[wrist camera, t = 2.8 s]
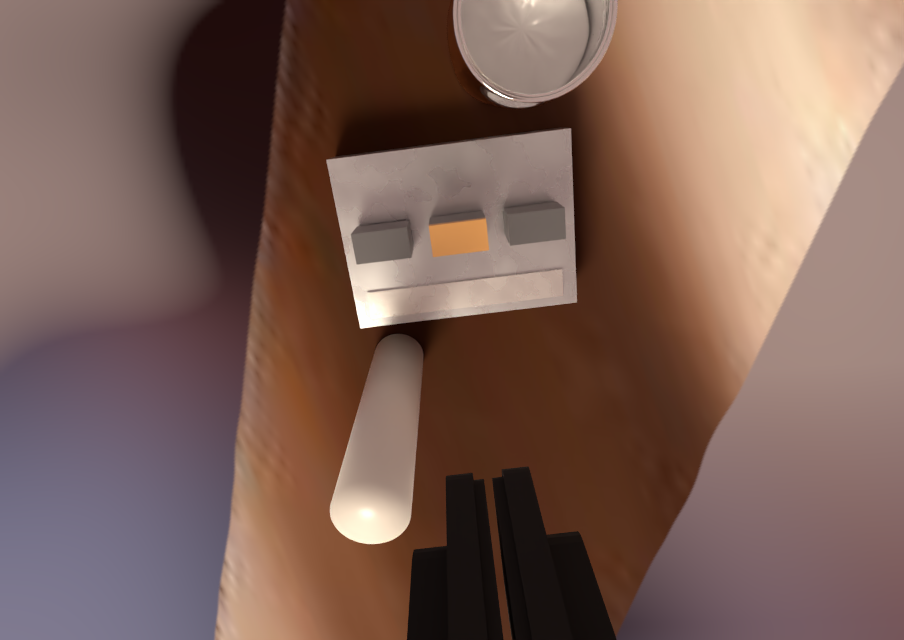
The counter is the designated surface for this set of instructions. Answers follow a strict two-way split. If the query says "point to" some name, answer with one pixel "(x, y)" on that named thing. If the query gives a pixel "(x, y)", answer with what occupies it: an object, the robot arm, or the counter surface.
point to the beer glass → (527, 47)
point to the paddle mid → (458, 233)
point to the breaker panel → (454, 192)
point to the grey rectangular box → (382, 242)
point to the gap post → (382, 447)
